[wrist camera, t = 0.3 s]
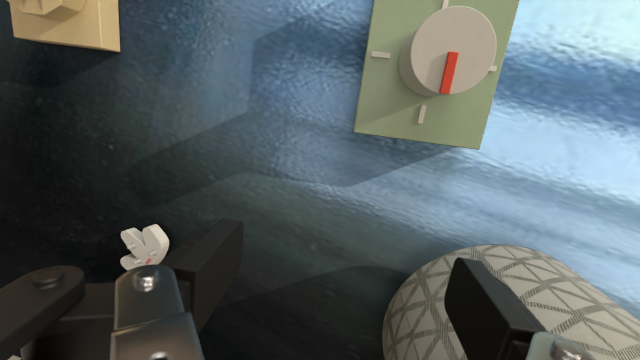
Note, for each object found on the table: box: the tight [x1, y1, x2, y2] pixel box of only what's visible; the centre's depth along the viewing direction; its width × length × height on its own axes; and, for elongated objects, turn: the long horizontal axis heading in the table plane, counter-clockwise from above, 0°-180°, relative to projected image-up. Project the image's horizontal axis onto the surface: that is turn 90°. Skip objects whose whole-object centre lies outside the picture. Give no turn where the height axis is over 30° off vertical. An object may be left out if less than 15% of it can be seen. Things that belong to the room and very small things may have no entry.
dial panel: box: [353, 0, 519, 150], centre depth 24 cm, size 12×10×3 cm
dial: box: [399, 6, 496, 96], centre depth 20 cm, size 5×5×5 cm
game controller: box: [120, 224, 169, 270], centre depth 31 cm, size 6×12×3 cm, turn 68°
